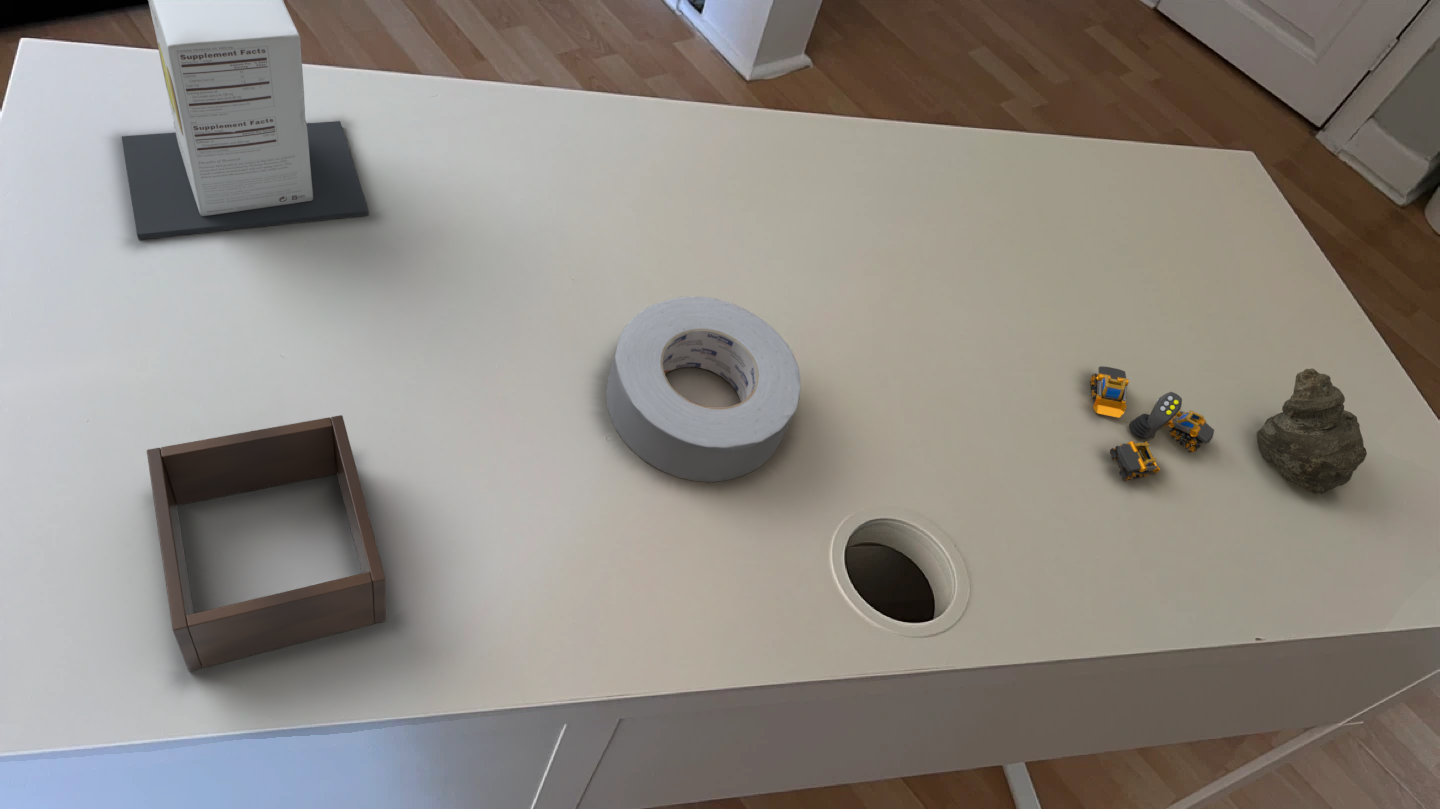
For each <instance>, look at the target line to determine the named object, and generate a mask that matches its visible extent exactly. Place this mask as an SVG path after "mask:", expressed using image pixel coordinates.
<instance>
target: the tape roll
mask: <svg viewBox="0 0 1440 809" xmlns="http://www.w3.org/2000/svg"><path fill="white" fill-rule="evenodd" d="M614 351H615V352H614V355H613V358H612V363H611V366H610V371H609V374H608V378H607V382H606V387H605V388H606V391H605V398H606V399H605V400H606V406H607V411H608V415H609V418H610V420H611V423H612V426H613V427H614V428H615V430H616V432H617V434H618V435H619V437H620V438H621V440H622V441H623V442H624V443H625V445H626V446H627V447H628V448H629V449H630V450H631V451H632V452H633V453H635V454H636V456H638V457H639V458H640V459H642V460H643V461H645V463H647V464H648V465H650V466H652V467H654V468H656V469H657V470H659V471H661V472H664V473H665V474H669V475H671V476H674V477H677V478H680V479H684V480H688V481H694V482H703V483H704V482H705V483H714V482H722V481H723V482H724V481H728V480H732V479H737V478H741V477H743V476H746V475H748V474H750V473H752V472H754V471H755V470H757V469H758V468H760V467H761V466H763V465H764V464H765V463H766V462H767V461H768V460H769V459H770V458H771V457H772V456H773V455H774V454H775V452H776V451H777V449H778V448H779V446H780V444H781V442H782V440H783V438H784V436H785V434H786V432H787V429H788V428H789V425H790V423H791V422H792V419H793V418H794V416H795V414H796V412H797V409H798V407H799V402H800V397H801V391H802V385H801V384H802V382H801V378H802V377H801V372H800V367H799V364H798V361H797V359H796V357H795V355H794V352H793V350H792V349H791V348H790V345H789V344H788V343H787V342H786V341H785V340H784V338H783V337H782V336H781V334H779V333H778V332H777V331H776V330H775V328H774V327H773V326H771V325H770V324H768V322H766V321H765V320H764V319H763V318H761V317H760V316H758V315H756V314H755V313H753V312H752V311H750V310H747V309H746V308H743V307H741V306H739V305H737V304H734V303H732V302H729V301H726V300H722V299H719V298H716V297H708V296H695V295H694V296H693V295H692V296H677V297H675V298H670V299H666V300H663V301H660V302H656V303H654V304H652V305H650V306H648V307H646V308H645V309H642V310H641V311H640V312H639V313H637V314H636V315H635V316H634V317H633V318H632V319H631V320H630V321H629V322H628V323H627V324H626V325H625V326H624V328H623V330H622V332H620V335H619V338H618V340H617V343H616V346H615V350H614ZM690 367H691V368H698V369H703V370H707V371H710V372H711V373H712V372H713V373H714V374H716V375H718V376H720V377H721V378H723V379H724V380H725V381H727V383H729V384H730V386H731V387H732V389H734V391H735V392H736V394H737V396H738V398H739V401H740V402H739V403H737V404H734V405H730V406H724V407H714V406H713V407H712V406H705V405H701V404H698V403H695V402H693V401H691V400H689V399H688V398H686V397H685V396H684V395H681V394H680V393H679V392H678V391H677V390H676V389H675V388H674V387H673V386H672V385H671V383H670V381H669V379H668V378H667V376H666V374H667V373H669V372H671V371H673V370H677V369H680V368H681V369H682V368H690Z"/></svg>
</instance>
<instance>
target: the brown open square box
mask: <svg viewBox="0 0 1440 809" xmlns="http://www.w3.org/2000/svg"><path fill="white" fill-rule="evenodd" d="M146 456H147V463H148V471H149V478H150V485H151V491H152V497H153V498H152V499H153V505H154V511H155V518H156V525H157V533H158V539H159V545H160V552H161V560H162V568H163V573H164V582H165V587H166V593H167V600H168V608H169V616H170V621H171V622H170V623H171V629H172V632H173V635H174V637H175V640H176V643H177V645H178V647H179V651H180V653H181V656H182V658H183V661H184V663H185V666H186V669H187V671H188V672H193V671H196V670H201V669H203V668H209V667H212V666H216V665H220V664H223V663H228V662H232V661H235V660H239V659H243V658H248V657H251V656H255V655H258V654H262V653H266V652H269V651H274V650H277V649H281V648H285V647H289V646H293V645H297V644H302V643H305V642H309V641H312V640H317V639H321V638H324V637H329V636H332V635H336V634H340V633H344V632H348V631H351V630H355V629H359V628H363V627H366V626H370V625H374V624H379V623H383V622H386V621H387V589H386V588H387V585H386V584H387V583H386V581H387V580H386V575H385V572H384V568H383V563H382V560H381V557H380V552H379V550H378V545H377V541H376V537H375V534H374V529H373V525H372V522H371V518H370V515H369V511H368V506H367V504H366V500H365V496H364V492H363V488H362V484H361V482H360V481H361V480H360V476H359V473H358V469H357V466H356V462H355V457H354V454H353V450H352V445H351V442H350V439H349V435H348V431H347V427H346V423H345V419H344V416H343V415H341V414H340V415H335V416H331V417H323V418H318V419H313V420H307V421H301V422H295V423H290V424H284V425H278V426H272V427H268V428H262V429H255V430H250V431H246V432H245V431H244V432H238V433H233V434H228V435H223V436H216V437H212V438H206V439H199V440H194V441H188V442H182V443H178V444H172V445H166V446H161V447H155V448H149V449H147V450H146ZM332 475H336V477H337V480H338V484H339V488H340V492H341V497H342V500H343V504H344V508H345V511H346V516H347V520H348V524H349V528H350V532H351V535H352V540H353V543H354V547H355V552H356V555H357V561H358V564H359V568H360V571H361V573H358V574H354V575H349V576H345V577H341V578H337V579H332V580H329V581H324V582H321V583H315V584H311V585H307V586H303V587H299V588H295V589H291V590H287V591H281V592H279V593H274V594H269V595H265V596H261V597H257V598H252V599H249V600H245V601H241V602H236V603H232V604H228V605H224V606H219V607H216V608H211V609H207V610H203V611H199V612H194V605H193V600H192V594H191V588H190V587H191V586H190V582H189V581H190V580H189V575H188V574H189V573H188V566H187V562H186V556H185V548H184V543H183V536H182V530H181V523H180V519H179V510H178V506H181V505H187V504H192V503H196V502H197V503H198V502H201V501H202V502H203V501H207V500H212V499H218V498H222V497H226V496H232V495H237V494H242V493H248V492H253V491H257V490H262V489H267V488H272V487H277V486H283V485H287V484H291V483H297V482H303V481H307V480H312V479H318V478H322V477H323V478H324V477H326V476H332Z"/></svg>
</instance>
